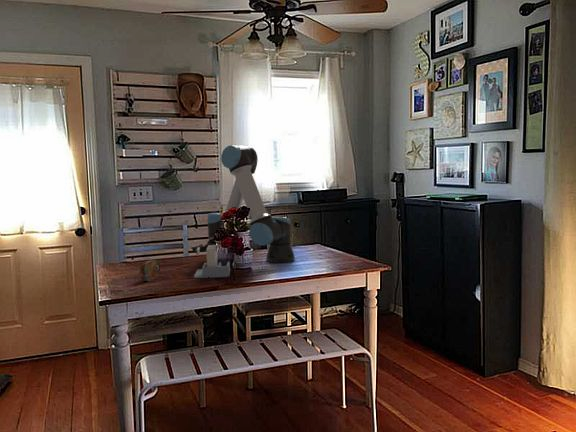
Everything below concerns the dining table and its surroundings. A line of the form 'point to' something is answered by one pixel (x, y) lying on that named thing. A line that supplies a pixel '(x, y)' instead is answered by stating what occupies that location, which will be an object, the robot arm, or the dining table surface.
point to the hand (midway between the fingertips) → (212, 251)
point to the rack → (213, 271)
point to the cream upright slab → (212, 256)
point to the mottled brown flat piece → (149, 270)
